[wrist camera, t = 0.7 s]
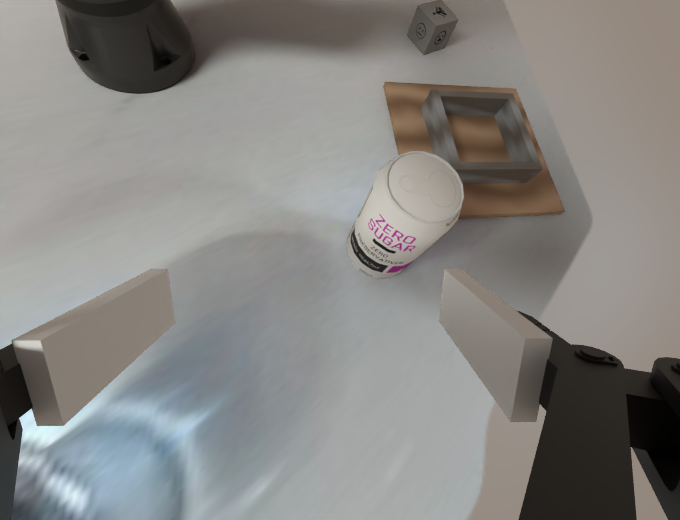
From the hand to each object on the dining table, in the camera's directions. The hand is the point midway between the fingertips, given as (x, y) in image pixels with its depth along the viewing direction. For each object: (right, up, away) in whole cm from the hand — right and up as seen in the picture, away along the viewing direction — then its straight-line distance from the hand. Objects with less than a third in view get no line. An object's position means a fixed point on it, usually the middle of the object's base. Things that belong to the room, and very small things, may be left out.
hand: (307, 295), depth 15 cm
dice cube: (+17, +41, +42) cm, 61 cm away
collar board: (+22, +19, +35) cm, 45 cm away
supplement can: (+6, +3, +26) cm, 27 cm away
